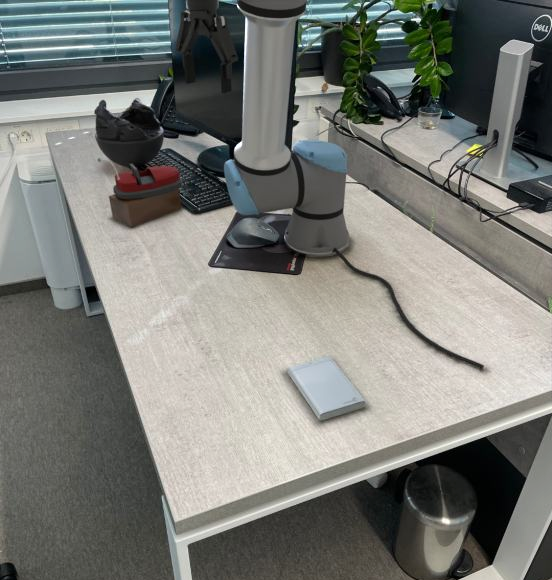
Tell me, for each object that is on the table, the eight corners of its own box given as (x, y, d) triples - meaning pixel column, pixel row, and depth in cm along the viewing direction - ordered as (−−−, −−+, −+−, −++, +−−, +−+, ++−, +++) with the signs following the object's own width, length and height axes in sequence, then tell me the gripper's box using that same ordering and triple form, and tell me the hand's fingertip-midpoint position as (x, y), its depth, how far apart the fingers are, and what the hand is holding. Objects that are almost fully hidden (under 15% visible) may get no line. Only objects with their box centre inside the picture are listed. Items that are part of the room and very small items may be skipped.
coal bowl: (180, 161, 179) (174, 97, 168) (136, 182, 166) (125, 115, 154) (133, 149, 188) (123, 88, 176) (87, 169, 174) (73, 104, 163)
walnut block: (181, 207, 153) (178, 185, 149) (131, 227, 144) (127, 205, 140) (162, 199, 157) (159, 177, 154) (112, 218, 148) (108, 196, 144)
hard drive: (365, 400, 92) (330, 354, 101) (319, 414, 90) (287, 366, 99) (364, 407, 93) (329, 362, 102) (319, 421, 91) (287, 374, 100)
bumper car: (188, 189, 147) (184, 150, 141) (111, 206, 140) (103, 165, 133) (173, 176, 154) (169, 138, 148) (99, 191, 146) (91, 152, 140)
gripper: (251, -8, 129) (253, 93, 142) (179, -17, 143) (187, 76, 156) (226, -4, 125) (231, 99, 138) (154, -14, 138) (165, 81, 151)
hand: (208, 87), depth 147 cm, fingers open, 13 cm apart
